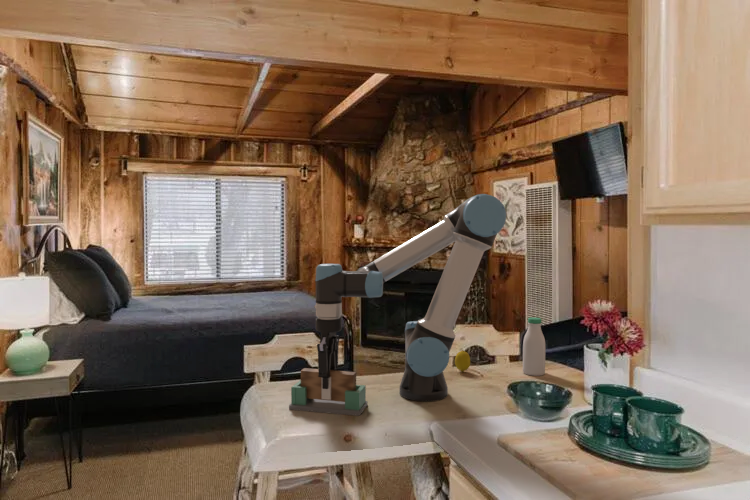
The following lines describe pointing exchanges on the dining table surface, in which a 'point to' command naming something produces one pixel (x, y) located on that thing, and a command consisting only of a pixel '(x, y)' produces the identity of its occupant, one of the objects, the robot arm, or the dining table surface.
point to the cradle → (351, 406)
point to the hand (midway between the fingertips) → (328, 396)
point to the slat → (338, 383)
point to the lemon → (462, 361)
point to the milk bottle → (534, 349)
